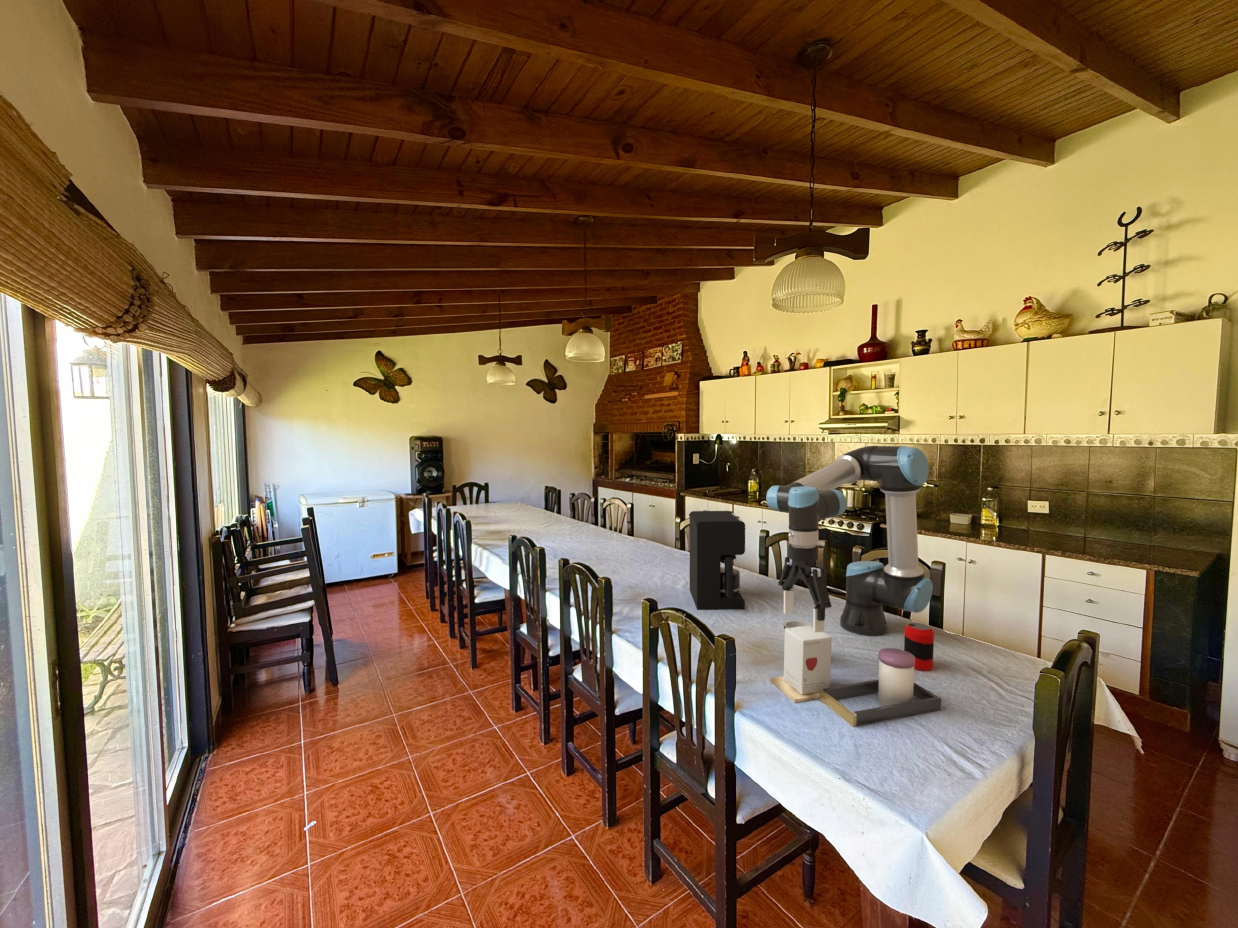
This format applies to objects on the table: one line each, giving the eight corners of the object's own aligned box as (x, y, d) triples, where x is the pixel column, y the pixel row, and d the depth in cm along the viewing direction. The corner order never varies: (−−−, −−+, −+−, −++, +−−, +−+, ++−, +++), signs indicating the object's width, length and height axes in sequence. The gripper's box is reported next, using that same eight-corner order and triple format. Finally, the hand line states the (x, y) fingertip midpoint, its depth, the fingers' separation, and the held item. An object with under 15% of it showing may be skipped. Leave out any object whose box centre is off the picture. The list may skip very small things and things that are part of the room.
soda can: (903, 657, 161) (904, 619, 160) (931, 662, 158) (933, 623, 157) (904, 668, 155) (905, 628, 154) (934, 673, 151) (935, 632, 150)
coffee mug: (815, 664, 157) (815, 632, 157) (785, 662, 159) (785, 630, 158) (809, 648, 169) (809, 618, 168) (781, 646, 171) (781, 616, 170)
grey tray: (902, 685, 144) (902, 675, 144) (940, 709, 132) (941, 698, 132) (819, 700, 138) (820, 689, 137) (852, 726, 126) (853, 714, 125)
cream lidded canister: (896, 691, 141) (897, 646, 140) (921, 707, 133) (922, 659, 132) (870, 696, 139) (871, 650, 138) (894, 712, 131) (895, 663, 130)
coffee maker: (749, 613, 200) (749, 522, 198) (697, 613, 201) (697, 522, 198) (733, 589, 228) (734, 510, 226) (688, 590, 229) (688, 510, 226)
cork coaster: (807, 675, 151) (807, 672, 151) (834, 695, 140) (834, 692, 140) (769, 680, 148) (769, 678, 148) (794, 702, 136) (794, 699, 136)
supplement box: (801, 695, 138) (802, 640, 137) (782, 679, 147) (783, 627, 146) (831, 690, 141) (832, 636, 139) (811, 675, 149) (812, 623, 148)
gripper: (766, 536, 152) (766, 607, 154) (820, 557, 128) (819, 642, 130) (789, 533, 154) (788, 604, 156) (846, 554, 130) (845, 638, 132)
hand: (803, 621), depth 143 cm, fingers open, 13 cm apart
